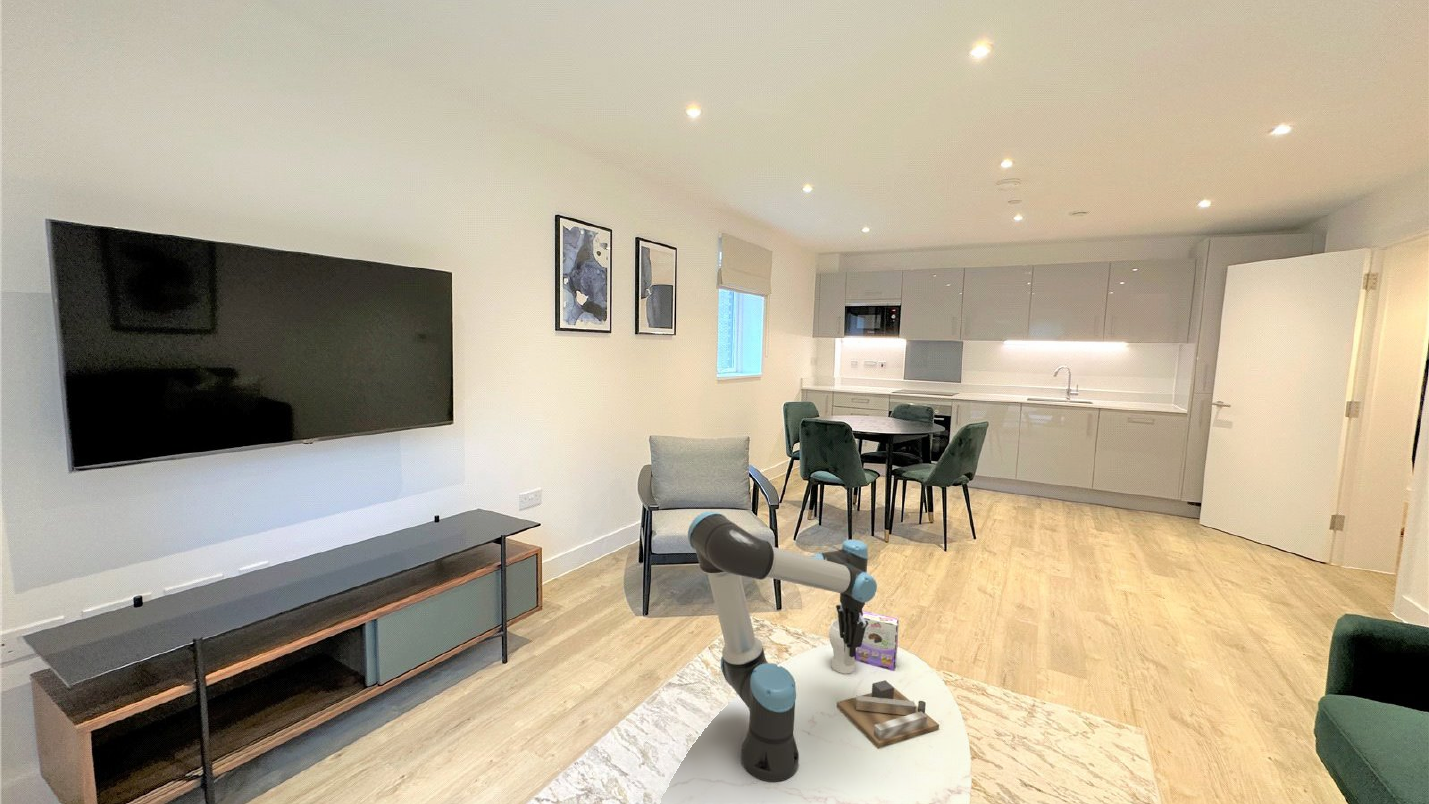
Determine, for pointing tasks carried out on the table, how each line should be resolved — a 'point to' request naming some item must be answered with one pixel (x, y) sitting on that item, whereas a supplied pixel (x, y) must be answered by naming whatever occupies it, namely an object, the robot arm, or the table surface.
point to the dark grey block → (882, 690)
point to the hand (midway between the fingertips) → (849, 664)
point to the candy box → (879, 641)
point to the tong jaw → (885, 705)
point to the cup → (838, 649)
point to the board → (880, 718)
